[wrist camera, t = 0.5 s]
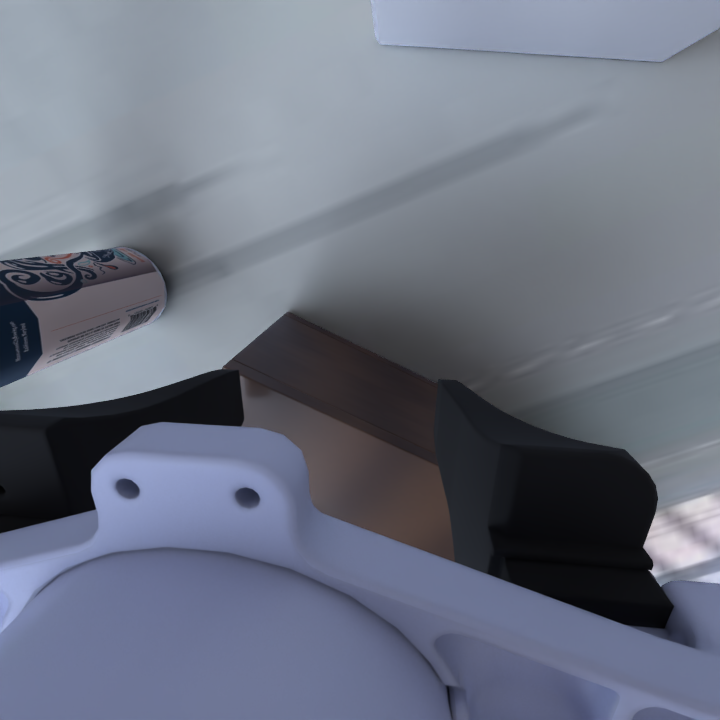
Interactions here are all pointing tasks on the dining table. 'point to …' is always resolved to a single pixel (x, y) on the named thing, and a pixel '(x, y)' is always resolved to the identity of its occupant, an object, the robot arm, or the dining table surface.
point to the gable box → (549, 26)
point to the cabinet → (351, 429)
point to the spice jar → (72, 305)
